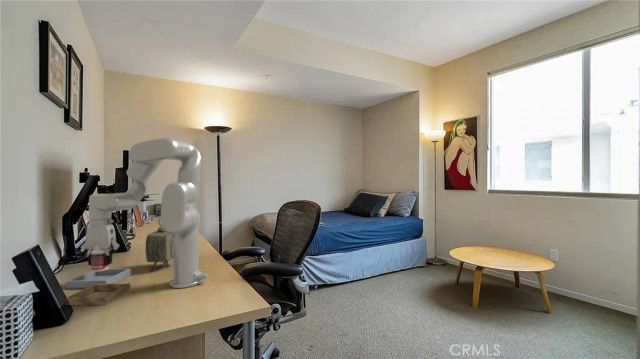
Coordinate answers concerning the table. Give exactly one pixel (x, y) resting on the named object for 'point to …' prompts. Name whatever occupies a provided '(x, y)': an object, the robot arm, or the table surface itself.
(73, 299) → the walnut frame
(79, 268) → the table surface
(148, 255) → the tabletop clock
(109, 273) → the slate tray
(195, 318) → the table surface
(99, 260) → the pill bottle
